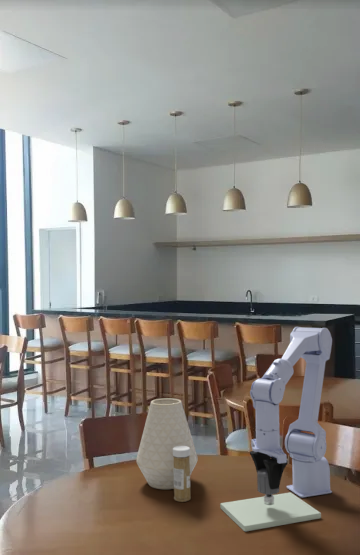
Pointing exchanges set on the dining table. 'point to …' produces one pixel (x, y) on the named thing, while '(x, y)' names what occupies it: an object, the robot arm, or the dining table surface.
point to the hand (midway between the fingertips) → (268, 484)
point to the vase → (164, 442)
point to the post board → (269, 511)
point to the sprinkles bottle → (181, 473)
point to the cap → (264, 482)
